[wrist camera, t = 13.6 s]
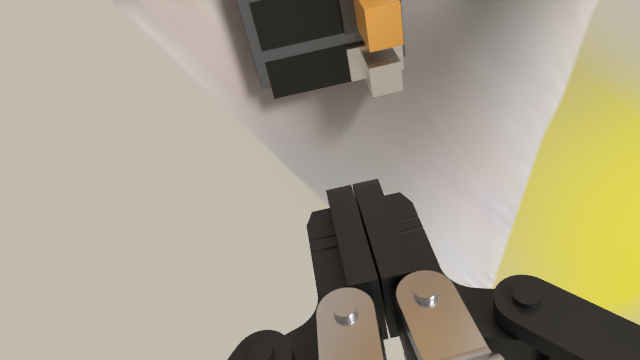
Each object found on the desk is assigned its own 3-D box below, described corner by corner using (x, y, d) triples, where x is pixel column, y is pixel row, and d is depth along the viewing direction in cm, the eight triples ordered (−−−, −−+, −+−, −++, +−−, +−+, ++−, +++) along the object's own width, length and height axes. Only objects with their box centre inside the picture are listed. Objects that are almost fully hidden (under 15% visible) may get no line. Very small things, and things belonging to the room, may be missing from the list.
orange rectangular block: (395, -28, 37) (415, -6, 33) (399, 20, 39) (418, 45, 35) (336, -15, 37) (348, 8, 33) (344, 32, 39) (356, 59, 35)
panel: (386, -99, 36) (409, -83, 31) (399, 58, 44) (420, 91, 39) (222, -62, 36) (219, -40, 31) (264, 89, 44) (267, 126, 39)
